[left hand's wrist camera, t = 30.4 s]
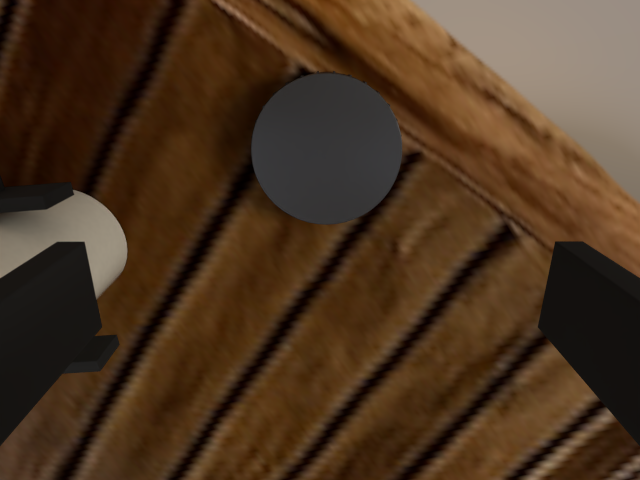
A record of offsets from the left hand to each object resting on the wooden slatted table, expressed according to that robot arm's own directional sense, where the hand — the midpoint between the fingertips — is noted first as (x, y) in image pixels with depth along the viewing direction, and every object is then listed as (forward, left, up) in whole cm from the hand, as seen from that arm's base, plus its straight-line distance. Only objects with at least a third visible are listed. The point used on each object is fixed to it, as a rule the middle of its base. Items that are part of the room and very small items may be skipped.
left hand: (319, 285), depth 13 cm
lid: (+1, 0, -16) cm, 16 cm away
